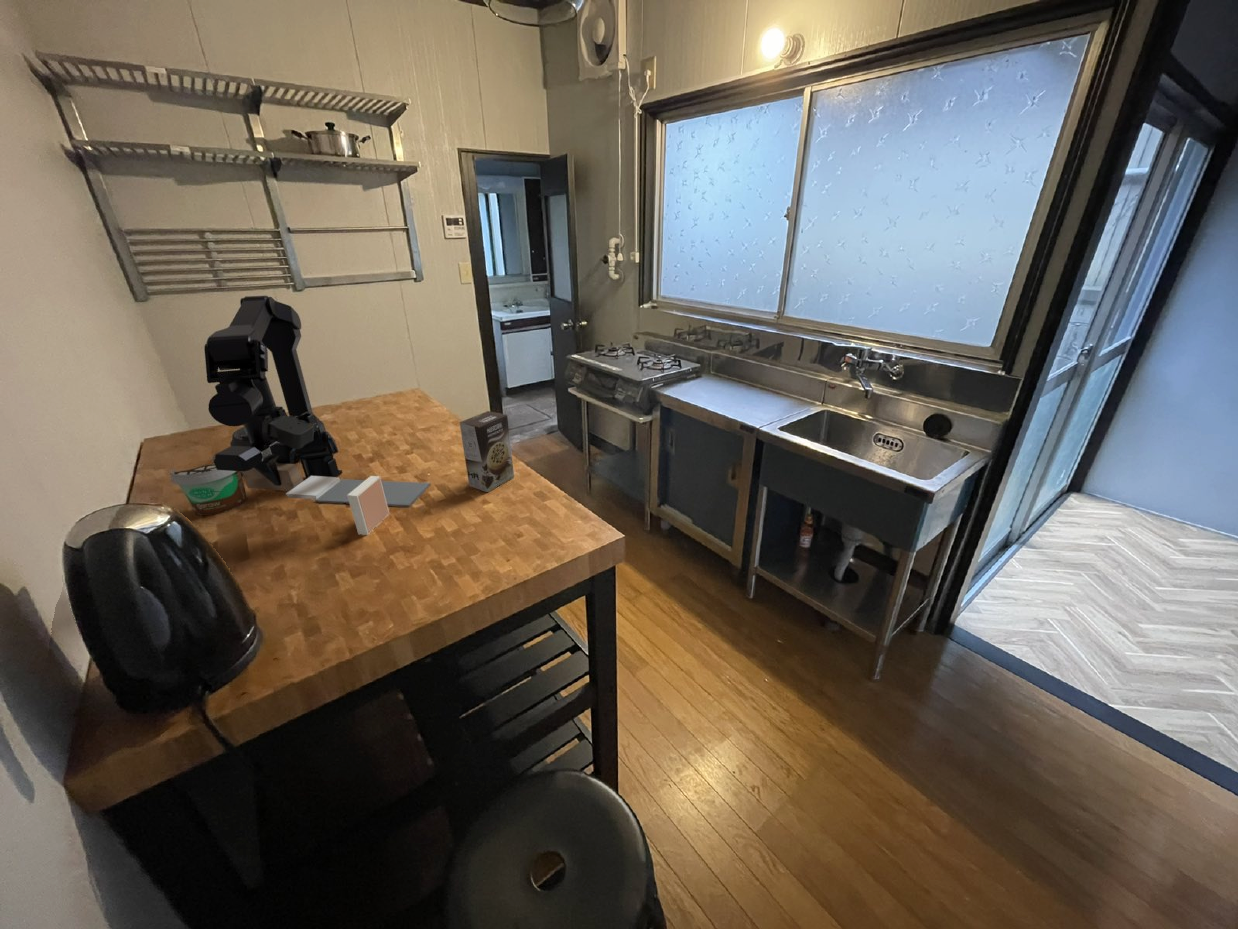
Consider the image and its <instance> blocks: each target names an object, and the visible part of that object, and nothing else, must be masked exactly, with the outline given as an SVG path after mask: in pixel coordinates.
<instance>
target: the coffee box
mask: <svg viewBox="0 0 1238 929" xmlns="http://www.w3.org/2000/svg"><path fill="white" fill-rule="evenodd" d="M459 428H460V434H461V441H462V447H463V455H464V460H465V468H466V472H467V473H466V474H467V480H468V486H469V487H471V488H474V489H476V490H480V491H482V492H485V493H488V492H491V491H492V490H494V489H496V488H498V487H500V486H501V485H504V484H505V483H507V482H508V481H510V480H512V479H514V478H515V471H514V463H513V455H512V446H511V437H510V428H509V419H508V415H507V414H503V413H500V412H495V411H489V410H487V411H484V412H482V413H480V414H477V415H475V416H472V417H469V418H467V419H464V420H461V421H459ZM499 485H500V486H499ZM497 486H498V487H497Z"/></svg>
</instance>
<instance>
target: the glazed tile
mask: <svg viewBox="0 0 1238 929" xmlns="http://www.w3.org/2000/svg"><path fill="white" fill-rule="evenodd" d="M364 480H365V481H364V482H363V483H361V484H360V485H359V486H358V487H357V488H355V489H354V490H353V491H352V492H350V493H349V494H348V495H347V497H348V500H349V507H350V510H351V514H352V517H353V520H354V523H355V528H356V530H357V534H358V535H360V534H362V535H360V536H369V535H370V534H371V533H372V532H373V531H374V530H375V529H376V528H377V527H378V526H379V525H380V524H381V523H382V522H383V521H384V520H385V519H386V518H387V517H388V516H389V515H390V511H389V506H387V502H386V498H385V494H384V490H383V486H382V482H381V481H382V479H381V476H378V475H370V476H368V478H366V479H364ZM382 520H383V521H382ZM375 527H376V528H375ZM374 528H375V529H374ZM373 529H374V530H373ZM371 531H372V532H371ZM370 532H371V533H370ZM368 534H369V535H368Z"/></svg>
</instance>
